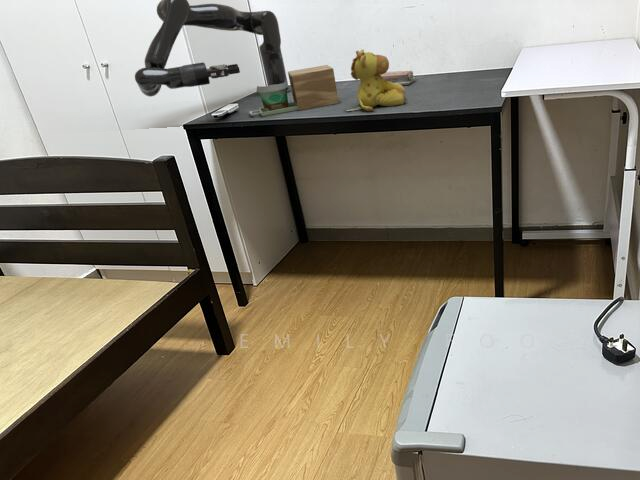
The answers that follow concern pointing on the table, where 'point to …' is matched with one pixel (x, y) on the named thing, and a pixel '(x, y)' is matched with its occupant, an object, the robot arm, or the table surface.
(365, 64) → the giraffe plush
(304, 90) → the wooden block
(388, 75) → the packaged product
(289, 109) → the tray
